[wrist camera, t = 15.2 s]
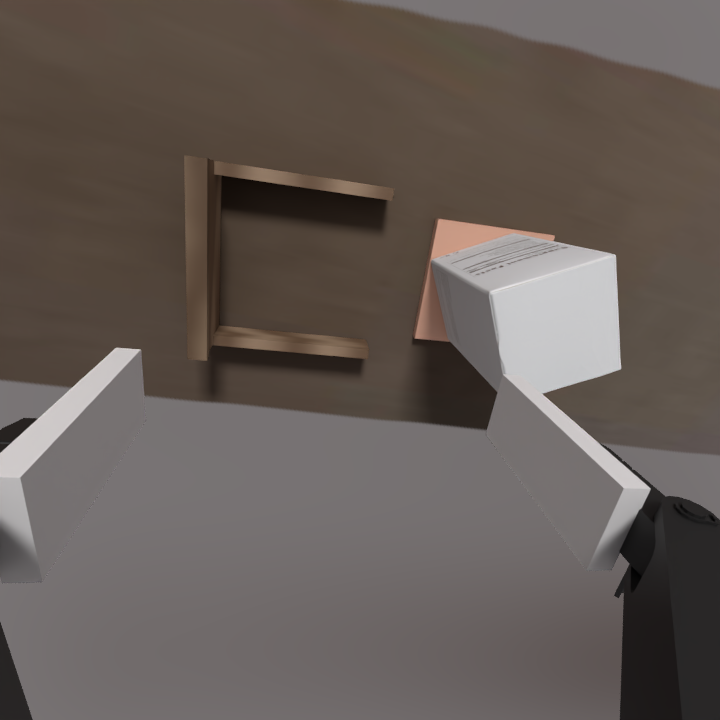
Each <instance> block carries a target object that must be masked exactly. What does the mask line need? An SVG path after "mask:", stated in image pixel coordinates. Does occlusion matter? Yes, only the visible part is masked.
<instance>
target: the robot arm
mask: <svg viewBox="0 0 720 720" xmlns="http://www.w3.org/2000/svg"><path fill="white" fill-rule="evenodd" d="M145 421H146V415H145V401H144V387H143V372H142V358H141V350H140V349H125V348H115V349H114V350H113V351H112V352H111V353H110V354H109V355H108V356H107V357H105V358H104V359H103V360H102V361H101V362H100V363H99V364H98V365H97V366H96V367H94V368H93V369H92V370H91V371H90V372H89V373H88V374H87V375H86V376H85V377H83V378H82V379H81V380H80V381H79V382H78V383H77V384H76V385H75V386H74V387H72V388H71V389H70V390H69V391H68V392H67V393H66V394H65V395H64V396H63V397H61V398H60V399H59V400H58V401H57V402H56V403H55V404H54V405H53V406H51V407H50V408H49V409H48V410H47V411H46V412H45V413H44V414H43V415H42V416H41V417H39V418H38V419H35V418H23V419H21V420H19V421H17V422H15V423H13V424H11V425H9V426H7V427H4V428H2V429H1V430H0V577H1V581H2V583H34V582H43V581H44V579H45V577H46V576H47V574H48V573H49V571H50V570H51V568H52V567H53V565H54V564H55V562H56V560H57V558H58V557H59V556H60V554H61V552H62V551H63V549H64V548H65V546H66V545H67V543H68V542H69V540H70V538H71V537H72V535H73V534H74V532H75V530H76V529H77V528H78V526H79V524H80V523H81V521H82V520H83V518H84V517H85V515H86V514H87V512H88V510H89V509H90V507H91V506H92V504H93V503H94V501H95V500H96V498H97V496H98V495H99V493H100V492H101V490H102V488H103V487H104V485H105V484H106V482H107V481H108V479H109V478H110V476H111V475H112V473H113V471H114V469H115V468H116V467H117V465H118V464H119V462H120V460H121V459H122V457H123V456H124V454H125V453H126V451H127V450H128V448H129V446H130V445H131V443H132V442H133V440H134V439H135V437H136V435H137V434H138V432H139V431H140V429H141V428H142V426H143V425H144V423H145ZM486 436H487V437H488V438H489V440H490V441H491V442H492V444H493V445H494V447H495V448H496V449H497V450H498V452H499V453H500V455H501V456H502V457H503V459H504V460H505V461H506V462H507V464H508V465H509V467H510V468H511V469H512V471H513V472H514V474H515V475H516V476H517V477H518V479H519V480H520V482H521V483H522V484H523V486H524V487H525V488H526V490H527V491H528V492H529V494H530V495H531V497H532V498H533V499H534V501H535V502H536V503H537V505H538V506H539V507H540V509H541V510H542V511H543V513H544V514H545V515H546V517H547V518H548V519H549V521H550V522H551V523H552V525H553V526H554V528H555V529H556V530H557V532H558V533H559V534H560V536H561V537H562V538H563V540H564V541H565V543H566V544H567V545H568V547H569V548H570V549H571V551H572V552H573V553H574V554H575V556H576V557H577V559H578V560H579V561H580V563H581V564H582V565H583V567H584V568H585V570H586V571H599V570H612V568H613V566H614V564H615V562H616V560H617V558H618V556H619V553H621V554H622V555H623V557H624V558H625V559H626V560H627V561H628V562H629V563H630V564H629V566H628V568H627V571H626V573H625V574H624V576H623V578H622V580H621V582H620V584H619V586H618V588H617V590H616V592H615V595H614V596H616V597H618V598H619V596H620V595H621V593H624V605H623V608H624V609H623V637H622V669H621V670H622V671H621V701H620V702H621V703H620V720H720V520H719V519H718V518H717V517H716V516H715V515H714V514H713V513H711V512H710V511H708V510H707V509H705V508H704V507H702V506H700V505H698V504H696V503H694V502H692V501H690V500H687V499H683V498H680V497H673V496H667V497H665V496H664V495H663V494H662V493H661V492H660V491H658V490H657V489H656V488H655V487H653V485H651V484H650V483H649V482H648V481H647V480H645V479H644V478H643V477H642V476H641V475H640V474H639V473H637V472H636V471H635V470H632V468H631V467H630V466H629V465H628V464H627V463H626V462H625V461H622V459H621V458H620V457H619V456H618V455H616V454H615V453H614V452H613V451H612V450H611V449H609V448H607V447H606V446H604V445H602V444H601V443H599V442H597V441H595V440H594V439H593V438H592V437H591V436H590V435H589V434H587V433H586V432H585V431H584V430H583V429H582V428H581V427H579V426H578V425H577V424H576V423H575V422H574V421H573V420H571V419H570V418H569V417H568V416H567V415H566V414H564V413H563V412H562V411H561V410H560V409H559V408H558V407H556V406H555V405H554V404H553V403H552V402H551V401H550V400H548V399H547V398H546V397H545V396H544V395H543V394H542V393H540V392H539V391H538V390H537V389H536V388H535V387H534V386H532V385H531V384H530V383H529V382H528V381H527V380H525V379H524V378H523V377H522V376H521V375H507V374H503V375H502V379H501V382H500V386H499V389H498V393H497V396H496V400H495V403H494V407H493V410H492V414H491V418H490V421H489V425H488V428H487V432H486ZM0 720H32V717H31V714H30V710H29V707H28V705H27V701H26V699H25V695H24V693H23V689H22V686H21V683H20V680H19V677H18V674H17V671H16V668H15V665H14V662H13V659H12V656H11V653H10V650H9V647H8V644H7V641H6V638H5V635H4V632H3V629H2V626H1V623H0Z"/></svg>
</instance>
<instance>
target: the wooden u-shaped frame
mask: <svg viewBox="0 0 720 720" xmlns="http://www.w3.org/2000/svg"><path fill="white" fill-rule="evenodd" d="M184 168H185V232H186V297H187V359H192V360H204V361H207V359H208V358H209V350H210V349H211V347H212V346H213V345H217V346H228V347H239V348H250V349H261V350H272V351H284V352H295V353H306V354H317V355H328V356H340V357H351V358H362V359H368V354H369V348H368V345H367V342H366V340H364V339H354V338H343V337H333V336H323V335H312V334H302V333H291V332H281V331H271V330H260V329H250V328H240V327H229V326H219V317H220V247H221V177H222V176H229V177H236V178H242V179H249V180H256V181H263V182H269V183H276V184H283V185H290V186H296V187H303V188H310V189H317V190H323V191H330V192H337V193H344V194H350V195H357V196H364V197H371V198H377V199H384V200H391V201H392V200H393V193H394V188H388V187H382V186H375V185H368V184H362V183H355V182H349V181H342V180H336V179H329V178H323V177H316V176H310V175H303V174H296V173H290V172H283V171H277V170H270V169H264V168H257V167H251V166H244V165H237V164H231V163H224V162H218V161H213V160H210V159H207V158H200V157H194V156H187V155H184Z"/></svg>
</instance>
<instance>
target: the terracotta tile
mask: <svg viewBox="0 0 720 720" xmlns="http://www.w3.org/2000/svg"><path fill="white" fill-rule="evenodd" d="M512 233H516V234H521V235H525V236H530V237H535V238H540V239H544V240H549V241H553V240H554V237H555V236H554V235H549V234H542V233H535V232H528V231H521V230H514V229H507V228H500V227H493V226H486V225H479V224H472V223H465V222H458V221H451V220H444V219H437V218H436V219H435V224H434V229H433V234H432V239H431V244H430V249H429V255H428V260H427V265H426V270H425V275H424V280H423V285H422V291H421V296H420V301H419V306H418V311H417V316H416V321H415V327H414V332H413V336H414V338H416V339H426V340H436V341H446V342H450V341H449V340H448V337H447V333H446V329H445V324H444V320H443V315H442V311H441V306H440V302H439V297H438V293H437V288H436V284H435V279H434V274H433V270H432V265H431V260H432V259H435V258H438V257H441V256H444V255H447V254H450V253H453V252H456V251H459V250H462V249H465V248H468V247H471V246H475V245H478V244H481V243H484V242H487V241H490V240H493V239H496V238H499V237H502V236H505V235H509V234H512Z"/></svg>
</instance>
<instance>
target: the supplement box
mask: <svg viewBox="0 0 720 720" xmlns="http://www.w3.org/2000/svg"><path fill="white" fill-rule="evenodd" d="M431 265H432V270H433V274H434V279H435V284H436V288H437V293H438V297H439V302H440V306H441V311H442V315H443V320H444V324H445V329H446V333H447V337H448V340H449V341H450V342H451V343H452V344H453V345H454V346H455V347H456V348H457V349H458V350H459V351H460V353H461V354H462V355H463V356H464V357H465V358H466V359H467V360H468V361H469V362H470V363H471V364H472V365H473V367H474V368H475V369H476V370H477V371H478V372H479V373H480V374H481V375H482V376H483V377H484V378H485V379H486V380H487V381H488V383H489V384H490V385H491V386H492V387H493V388H494V389H495V390H496V391H497V392H498V389H499V386H500V382H501V379H502V375H503V374H507V375H521V376H522V377H523V378H524V379H525V380H527V381H528V382H529V383H530V384H531V385H532V386H534V387H535V388H536V389H537V390H538V391H539V392H540V393H542V394H543V393H546V392H549V391H552V390H556V389H559V388H562V387H565V386H569V385H572V384H575V383H579V382H582V381H586V380H589V379H592V378H596V377H599V376H603V375H606V374H608V373H611V372H614V371H617V370H620V369H621V361H620V340H619V317H618V295H617V274H616V255H615V254H610V253H606V252H601V251H596V250H592V249H587V248H582V247H577V246H573V245H568V244H563V243H558V242H554V241H549V240H544V239H540V238H535V237H530V236H525V235H521V234H516V233H512V234H509V235H505V236H502V237H499V238H496V239H493V240H490V241H487V242H484V243H481V244H478V245H475V246H471V247H468V248H465V249H462V250H459V251H456V252H453V253H450V254H447V255H444V256H441V257H438V258H435V259H432V260H431Z"/></svg>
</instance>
